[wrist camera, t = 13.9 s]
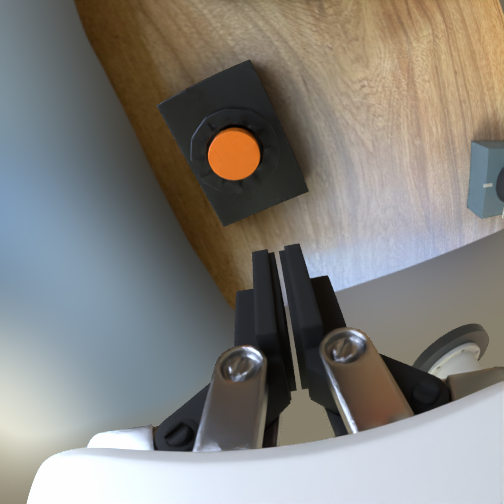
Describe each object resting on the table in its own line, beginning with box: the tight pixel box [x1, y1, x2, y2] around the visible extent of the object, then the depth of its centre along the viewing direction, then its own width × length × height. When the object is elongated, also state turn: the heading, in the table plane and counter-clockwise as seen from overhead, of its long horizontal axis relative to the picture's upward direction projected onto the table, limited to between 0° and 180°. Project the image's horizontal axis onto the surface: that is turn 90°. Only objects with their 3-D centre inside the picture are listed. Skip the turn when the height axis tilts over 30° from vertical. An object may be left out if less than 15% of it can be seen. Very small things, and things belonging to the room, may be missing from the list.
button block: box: [157, 60, 309, 227], centre depth 23 cm, size 12×8×4 cm, turn 24°
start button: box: [208, 128, 260, 180], centre depth 21 cm, size 4×4×2 cm
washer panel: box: [467, 141, 504, 219], centre depth 24 cm, size 9×9×3 cm
